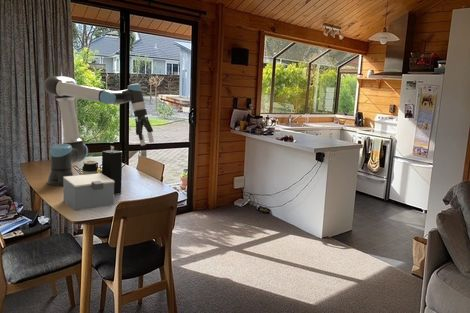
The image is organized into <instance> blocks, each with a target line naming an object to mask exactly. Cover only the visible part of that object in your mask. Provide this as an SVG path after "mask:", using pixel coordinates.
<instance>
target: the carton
mask: <svg viewBox="0 0 470 313" xmlns="http://www.w3.org/2000/svg"><path fill="white" fill-rule="evenodd" d="M62 190H63V194H62V195H63V202H65V204H67V205H68V206H69V207H70V208H71V209H72V210H73V211H82V210H89V209H95V208H100V207H101V208H103V207H108V206H114V205H115V202H114V201H115V195H114V183H108V184H103V189H99V190H95V189H93V188H92V185H90V186H81V187H74V186H73V185H72V184H70V183H69V182H68V181H66V180H65V179H63V189H62Z"/></svg>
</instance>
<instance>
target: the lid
mask: <svg viewBox="0 0 470 313" xmlns="http://www.w3.org/2000/svg"><path fill="white" fill-rule="evenodd" d="M63 178H64V179H65V180H66V181H68V182H69V183H70V184H72V185H73V186H74V187H81V186H90V185H92V188H93V189H95V190H99V189H103V184H108V183H115V181H113V180H112V179H110V178H108V177H107V176H105V175H103V174H102V172H101V173H100V172H99V173H98V172H97V174H87V175H82V174H78V175H74V176H66V177H63Z"/></svg>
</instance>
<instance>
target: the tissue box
mask: <svg viewBox="0 0 470 313" xmlns="http://www.w3.org/2000/svg"><path fill="white" fill-rule="evenodd" d="M101 154H102V155H101V173H102V174H103V175H105V176H107V177H108V178H110V179H112V180H113V181H115V183H114V196H116V195H120V194H122V181H123V180H122V177H123V176H122V174H123V171H122V170H123V151H119V150H115V146H114V145H110V149H109V150H102V151H101Z"/></svg>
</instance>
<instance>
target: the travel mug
mask: <svg viewBox="0 0 470 313" xmlns="http://www.w3.org/2000/svg"><path fill="white" fill-rule="evenodd" d="M82 163H83V165H82V174H81V175H87V174H98V165H97V164H98V161H95V160H84V161H82Z"/></svg>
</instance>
